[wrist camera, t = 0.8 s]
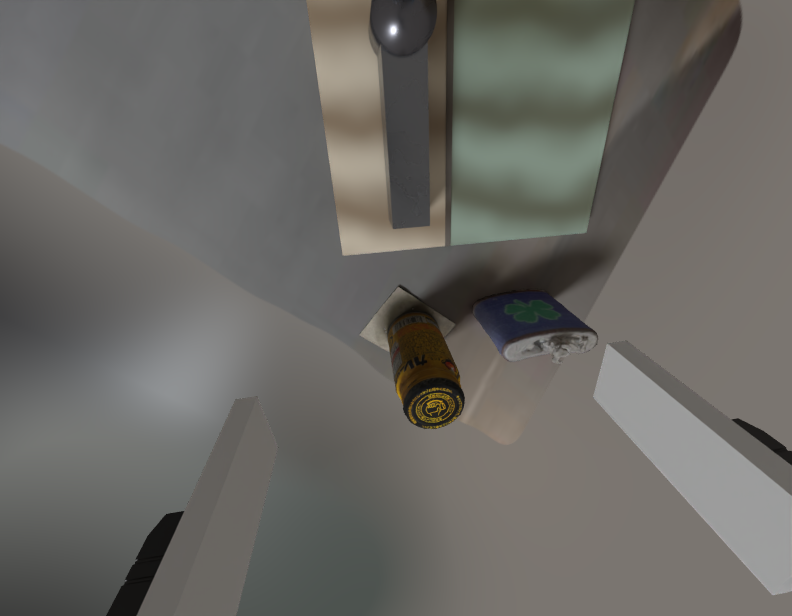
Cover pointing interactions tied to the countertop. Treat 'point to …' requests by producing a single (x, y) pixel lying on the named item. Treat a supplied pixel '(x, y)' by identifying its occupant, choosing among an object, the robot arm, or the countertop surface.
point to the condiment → (419, 359)
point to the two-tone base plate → (477, 118)
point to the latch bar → (404, 104)
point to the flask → (532, 325)
